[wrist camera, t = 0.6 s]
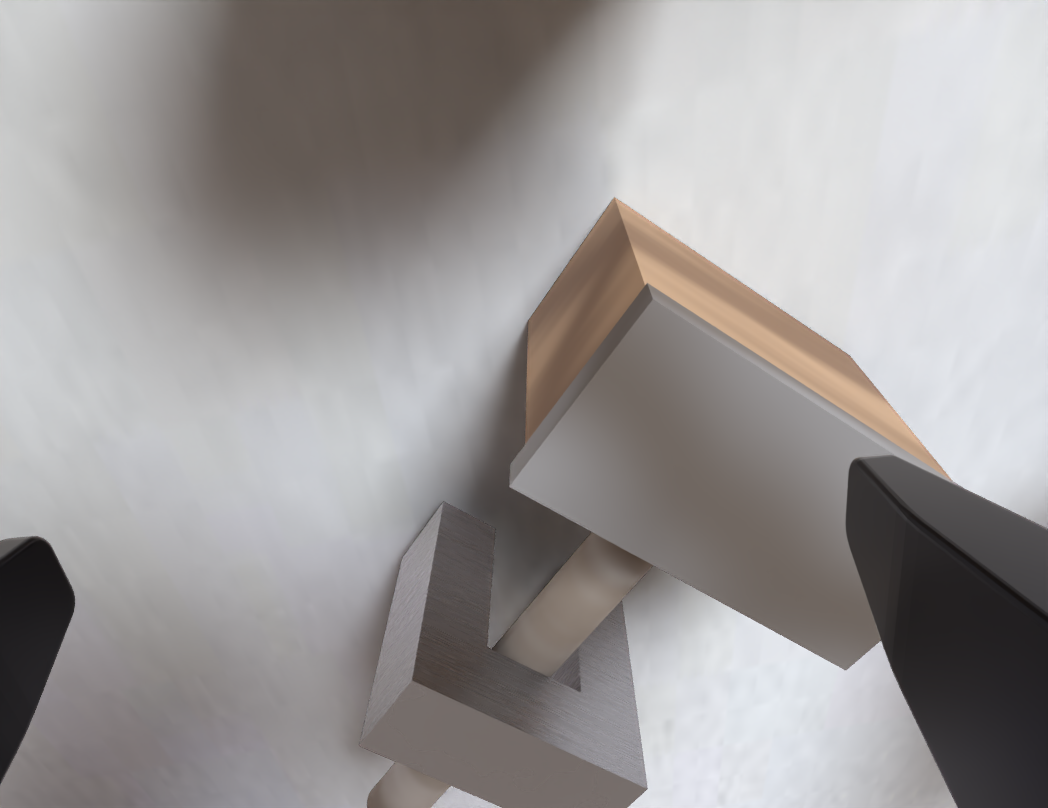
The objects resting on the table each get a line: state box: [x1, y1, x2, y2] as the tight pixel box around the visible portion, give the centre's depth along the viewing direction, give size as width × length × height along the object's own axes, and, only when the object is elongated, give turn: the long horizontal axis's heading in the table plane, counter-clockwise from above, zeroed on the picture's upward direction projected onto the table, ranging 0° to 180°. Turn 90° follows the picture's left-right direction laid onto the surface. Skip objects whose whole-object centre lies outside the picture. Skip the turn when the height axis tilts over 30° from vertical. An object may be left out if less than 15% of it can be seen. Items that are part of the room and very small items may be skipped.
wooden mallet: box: [367, 197, 963, 808], centre depth 21 cm, size 18×8×8 cm, turn 147°
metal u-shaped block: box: [359, 501, 648, 808], centre depth 22 cm, size 6×2×7 cm, turn 57°
